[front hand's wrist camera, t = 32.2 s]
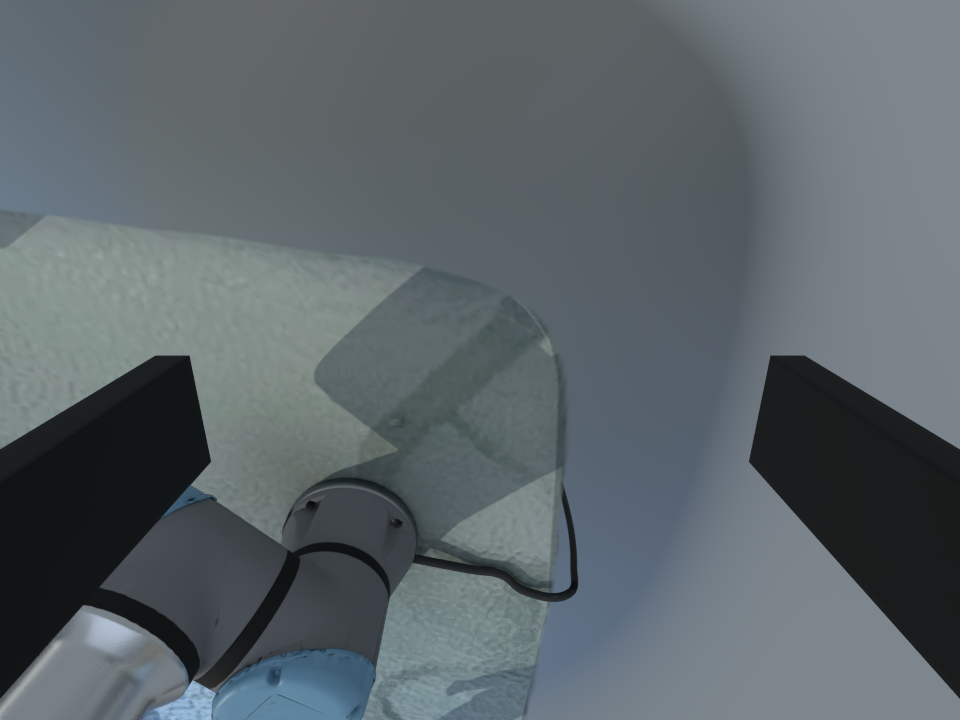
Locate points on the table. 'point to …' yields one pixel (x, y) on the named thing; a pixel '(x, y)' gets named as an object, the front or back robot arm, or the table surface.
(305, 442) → the table surface
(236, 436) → the table surface
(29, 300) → the table surface
